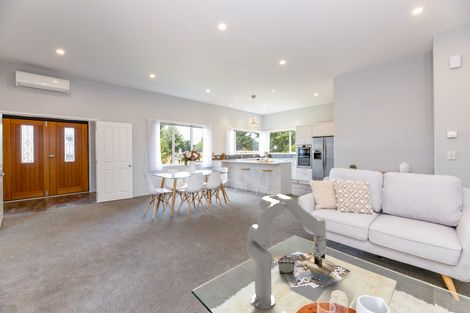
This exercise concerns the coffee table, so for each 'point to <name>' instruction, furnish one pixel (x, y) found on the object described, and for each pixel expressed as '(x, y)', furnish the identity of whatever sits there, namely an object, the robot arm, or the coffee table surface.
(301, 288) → the mat
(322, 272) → the lid
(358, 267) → the coffee table surface
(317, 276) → the bowl
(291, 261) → the food container
